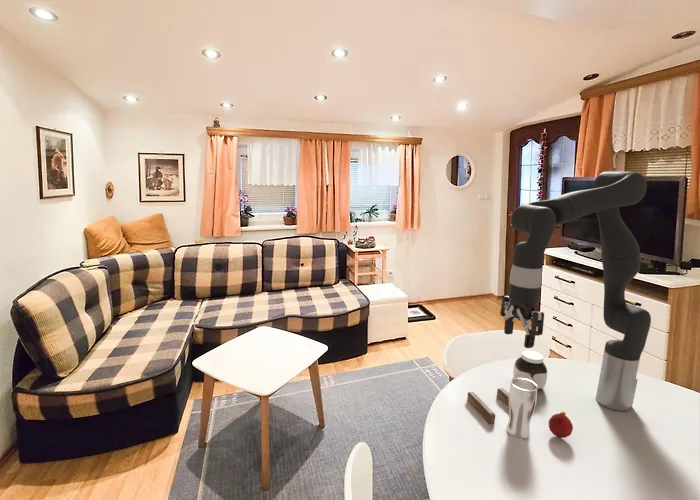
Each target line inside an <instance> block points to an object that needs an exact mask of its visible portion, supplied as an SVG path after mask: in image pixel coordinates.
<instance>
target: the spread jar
mask: <svg viewBox="0 0 700 500" xmlns="http://www.w3.org/2000/svg"><path fill="white" fill-rule="evenodd" d="M512 374H513V377H512V379H511V381H512V380H513V379H515V378H524V379H527V380H530V381H532V382H534V383H535V384H536V385H537V392H538V391H541V390H542V389H544V388H545V386H546V384H547V379H548V368H547V365H546V363H545V362H544V355H543V354H541V353H540V352H538V351H535V350H529V349H528V350H523V351H522V352H521V356H520V357H518V358H517V359H516V360H515V362H514V365H513V373H512Z"/></svg>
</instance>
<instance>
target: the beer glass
mask: <svg viewBox="0 0 700 500" xmlns="http://www.w3.org/2000/svg"><path fill="white" fill-rule="evenodd" d="M508 393H509V408H508V410H509V411H508V412H509V413H508V414H509V419H508V422H507V425H506V429H505V430H506V431H507V433H508V434H509V436H512V437H513V438H516V439H519V440H526V439H528V438H529V437H530V435H531V434H530V433H531V432H530V431H531V430H530V423H531V420H532V417H533V414H534V411H535V410H536V409H535V408H536V405H537V398H538V391H537V385H536V384H535V383H534V382H532V381H530V380H527V379H524V378H515V379H513V380H512V379H511V383H510V387H509V392H508Z"/></svg>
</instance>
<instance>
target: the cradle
mask: <svg viewBox="0 0 700 500" xmlns="http://www.w3.org/2000/svg"><path fill="white" fill-rule="evenodd" d="M496 391H497V393H496V398H497V399H499V401H500V402H502V404H503V405H505V407H507V408H508V409H509V392H508V391H507V390H506V389H505V388H503V387H501V388H497V390H496ZM466 401H467V402H468V404H469V405H471V407H472V408H473V409H474V410H475V411H476V412H477V413H478V415H479V416H480V417H481V418H482V419H483V420H484V421H485V423H487V424H488V425H489V426H490V425H495V421H496V414H495V412H494V411H493V410H492V409H491V408H490V407H489V406H488V405H487V404H486V403H485V402H484V401H483V400H482V398H480V397H479V396H478V395H477V394H476V393H475V392H474V391H469V392H467V398H466Z"/></svg>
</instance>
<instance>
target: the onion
mask: <svg viewBox="0 0 700 500" xmlns="http://www.w3.org/2000/svg"><path fill="white" fill-rule="evenodd" d="M566 414H567V413H566V412H565V411H561V412H560V413H555V414H553V415H552V416H551V417H550V418H549V420H548V428H549V431H550V432H551V434H553V436H555V437H556V438H558V439H564V438H568V437H569V436H571V435H572V432H573V431H574V430H573V429H574V426H573V423H572V422H571V419H570V418H569V417H568V416H566Z"/></svg>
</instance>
